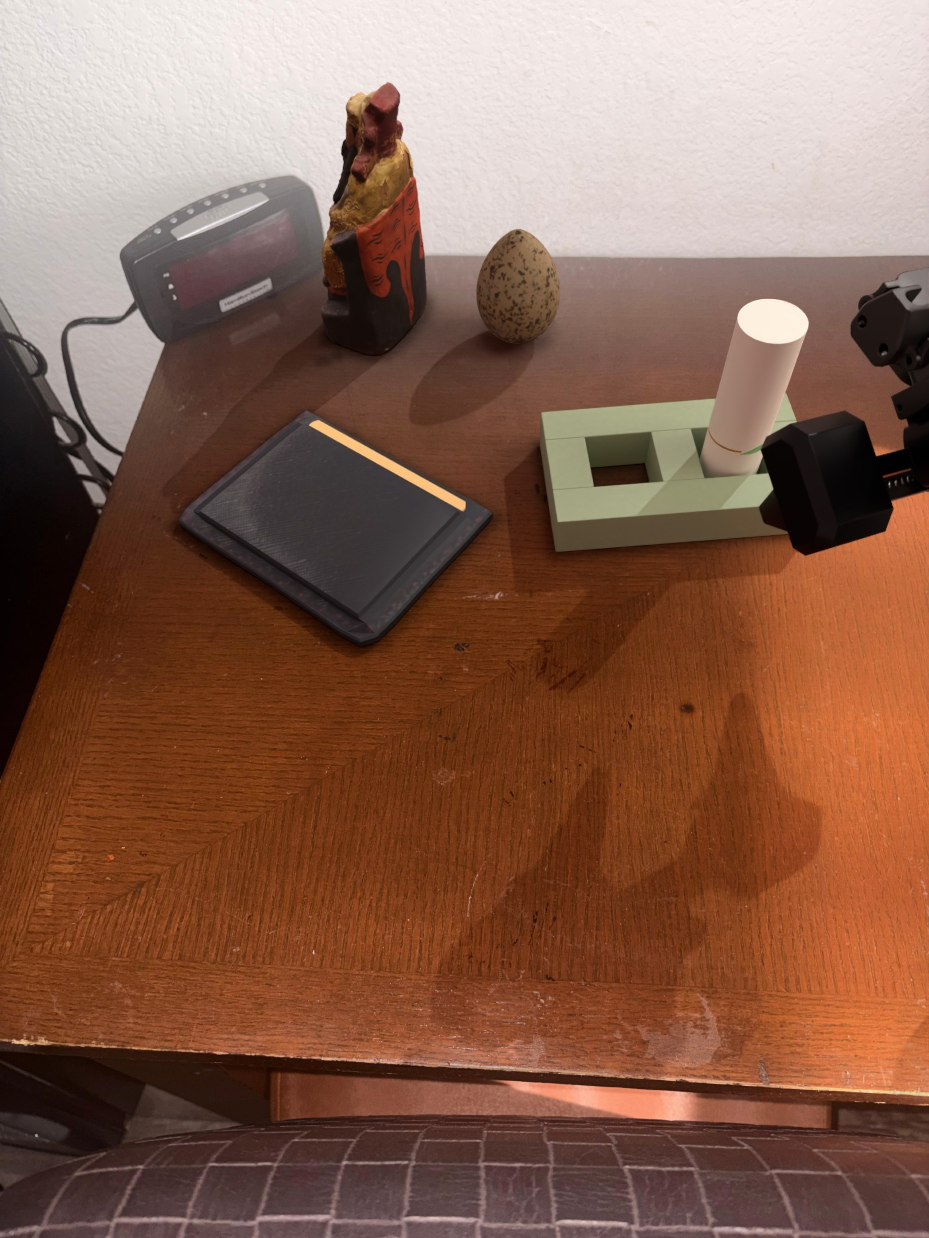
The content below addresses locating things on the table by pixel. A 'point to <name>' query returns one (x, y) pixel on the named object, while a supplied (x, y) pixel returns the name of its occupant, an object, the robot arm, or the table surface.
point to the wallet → (336, 526)
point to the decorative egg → (518, 288)
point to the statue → (374, 232)
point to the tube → (752, 386)
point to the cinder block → (677, 484)
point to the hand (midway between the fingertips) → (825, 497)
